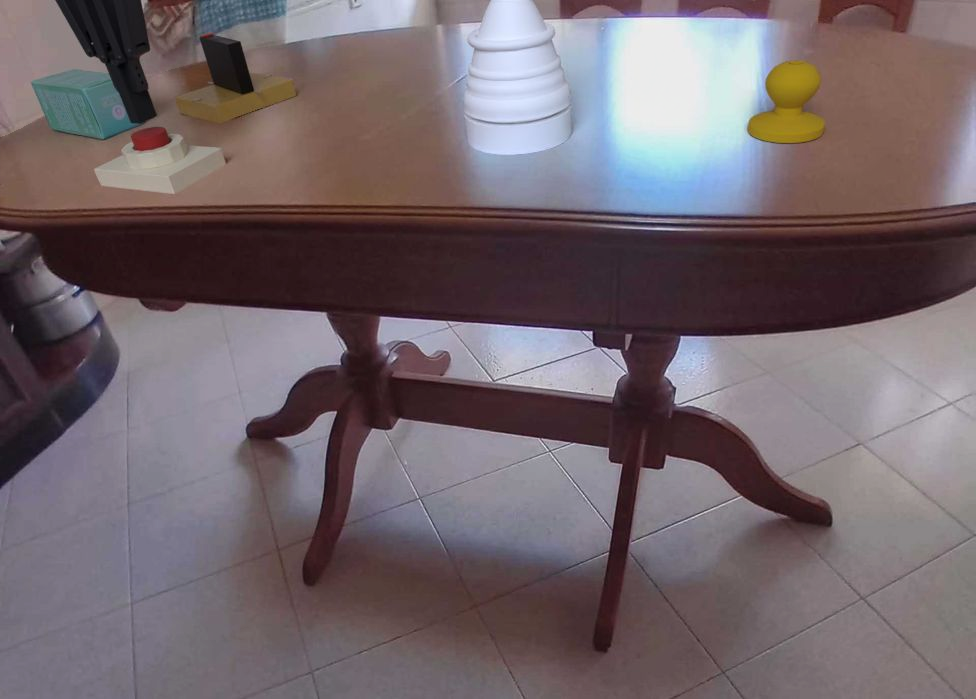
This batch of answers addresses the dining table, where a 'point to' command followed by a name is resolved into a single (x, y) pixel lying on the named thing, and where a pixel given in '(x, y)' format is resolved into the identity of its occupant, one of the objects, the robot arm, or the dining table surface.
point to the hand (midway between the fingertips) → (144, 119)
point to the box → (82, 104)
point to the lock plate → (234, 98)
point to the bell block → (161, 167)
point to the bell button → (150, 138)
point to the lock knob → (227, 63)
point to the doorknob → (789, 105)
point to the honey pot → (515, 83)
